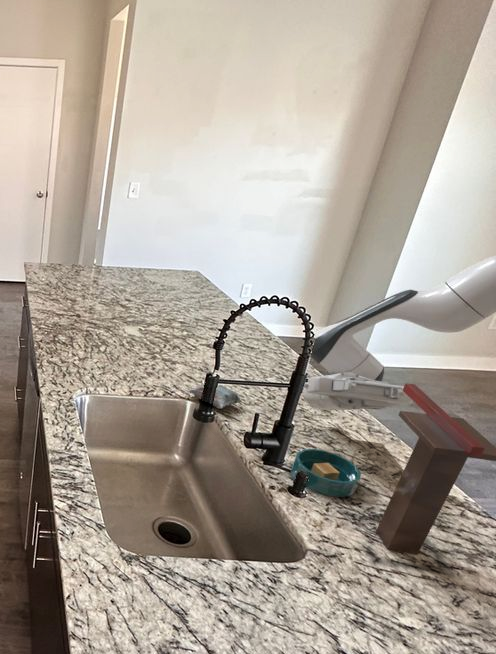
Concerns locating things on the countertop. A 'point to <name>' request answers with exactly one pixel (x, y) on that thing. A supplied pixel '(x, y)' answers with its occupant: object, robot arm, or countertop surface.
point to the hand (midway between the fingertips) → (376, 388)
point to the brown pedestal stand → (425, 482)
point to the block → (325, 471)
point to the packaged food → (218, 396)
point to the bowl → (320, 484)
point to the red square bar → (444, 421)
